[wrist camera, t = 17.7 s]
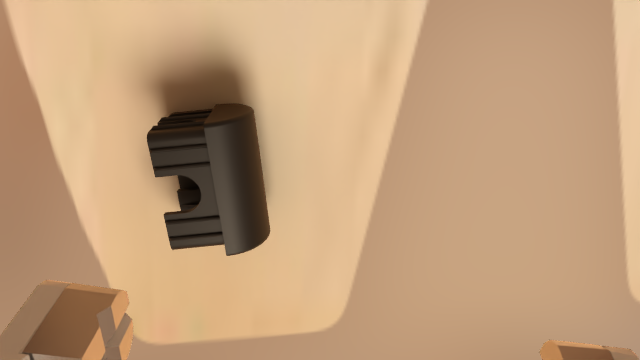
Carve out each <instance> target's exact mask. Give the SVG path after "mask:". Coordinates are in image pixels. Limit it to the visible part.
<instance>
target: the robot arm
mask: <svg viewBox="0 0 640 360" xmlns="http://www.w3.org/2000/svg"><path fill="white" fill-rule="evenodd" d="M128 305H129V299H128V295H127V291H124V290H118V289H111V288H104V287H97V286H90V285H83V284H76V283H68V282H60V281H53V280H45V281H43V282H42V283H40V285H38V286H37V287H36V288H35V290H34V291H33V293H32V294H31V295H30V296H29V298H28V299H27V301H26V302H25V303H24V304H23V306H22V307H21V308H20V310H19V311H18V312H17V314H16V315H15V317H14V318H13V319H12V320H11V322H10V323H9V324H8V326H7V327H6V328H5V330H4V331H3V333H2V334H1V335H0V360H127V357H128V355H129V352H130V348H131V344H132V340H133V323H132V319H131V318H130V317H129V316H128V315H127V314H126V313H125V311H126V309H127V307H128ZM540 355H541V357H542V360H639V358H638V357H637V355H636V354H635V353H634V352H633V351H632V350H631V349H625V348H617V347H609V346H600V345H594V344H585V343H575V342H565V341H557V340H549V341H547V342H545V343H544V344H543V347H542V348H541V350H540Z"/></svg>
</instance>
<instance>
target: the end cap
mask: <svg viewBox="0 0 640 360" xmlns="http://www.w3.org/2000/svg"><path fill="white" fill-rule="evenodd" d="M147 142H148V147H149V151H150V156H151V160H152V165H153V169H154V174H155V177H164V176H174V175H178V179H179V184H180V189H178V191H177V193H178V198H179V203H180V208H181V211H177V212H166V213H165V214H164V219H165V223H166V228H167V232H168V237H169V241H170V246H171V248H172V250H174V249H184V248H194V247H204V246H214V245H224V244H225V250H226V255H227V256H230V255H236V254H240V253H244V252H246V251H249V250H252V249H254V248H256V247H257V246H259V245H261V244H262V243H263V242H264V241H265V240H266V239H267V238H268V236H269V234H270V225H269V217H268V210H267V203H266V196H265V188H264V181H263V174H262V167H261V159H260V152H259V145H258V138H257V130H256V123H255V116H254V110H253V109H252V108H251V107H249V106H246V105H242V104H217V105H216V106H215V107H214V109H207V110H197V111H187V112H176V113H172V114H170V115H169V117H164V118H161V120H160V121H159V122H158V126H153V127H152V129H151V130H150V131H149V132H148V134H147Z"/></svg>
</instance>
